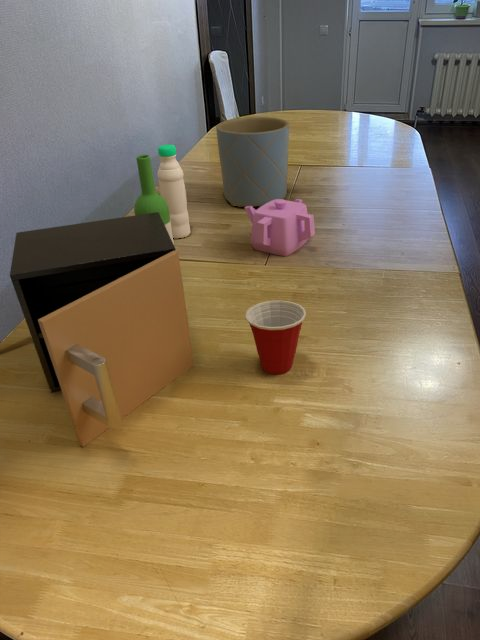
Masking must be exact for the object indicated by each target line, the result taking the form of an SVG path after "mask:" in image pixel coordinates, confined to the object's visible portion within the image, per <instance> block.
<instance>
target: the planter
mask: <svg viewBox="0 0 480 640" xmlns="http://www.w3.org/2000/svg"><path fill="white" fill-rule="evenodd" d="M215 129H216V130H215V131H216V137H217V148H218V156H219V163H220V164H219V165H220V171H221V177H222V179H221V180H222V187H223V194H224V195H223V196H224V198H225V200H226V201H228V202H229V204H230V205H231V206H232V205H234V206H238V207H237V208H240V207H243V208H244V207H247V206H252V207H261V206H263V205H265V204H266V203H268V202H270V201H272V200H275V199H283V200H285V198H286V196H287V194H288V171H289V167H288V166H289V153H290V151H289V147H290V123H289V121H288V120H285V119H283V118H280V117H279V118H278V117H271V116H247V117H246V116H245V117H244V116H243V117H235V118H231V119H227V120H223V121H221V122H219V123H218V124H217V125H216V128H215Z"/></svg>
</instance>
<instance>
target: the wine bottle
mask: <svg viewBox="0 0 480 640" xmlns="http://www.w3.org/2000/svg"><path fill="white" fill-rule="evenodd" d="M135 160H136V165H137V172H138V176H139V184H140V190H141V193H140V195H138V197H137V199H136V201H135V204H134V216H135V215H142V214H149V213H156V212H159V214H160V216H161V219H162V221H163V223H164V225H165V227H166V229H167V231H168V234H169V236H170V238H171V240H172V242H173V244H174V245H175V242H174V239H173V235H172V228H171V221H170V215H169V208H168V205H167V203H166V201H165V199H164V198H163V197H162V196H161V195H160V193H158V192H157V190H156V185H155V179H154V172H153V167H152V160H151V156H150V155H149V154H140V155H137V156H136V159H135Z"/></svg>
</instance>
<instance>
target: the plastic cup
mask: <svg viewBox="0 0 480 640" xmlns="http://www.w3.org/2000/svg"><path fill="white" fill-rule="evenodd" d="M306 316H307V312H306V309H305V308H304V307H303V306H302V305H301V304H300V303H296V302H293V301H288V300H282V299H278V300H277V299H276V300H266V301H264V302H258V303H257V304H254V305H252V306H250V307H249V308H248V309H247V310H246V311H245V320H246V321H247V322H248V324H249V327H250V329H251V330H250V331H251V332H252V335H253V340H254V343H255V348H256V352H257V354H258V357H259V358H258V359H259V362H260V366H261V368H262V370H264V372H266V373H268V374H270V375H274V376H277V375H284V374H286V373H288V372H289V371H291V369H292V367H293V365H294V360H295V356H296V353H297V348H298V343H299V338H300V332H301V330H302V325H303V322H304V320H305V319H306Z"/></svg>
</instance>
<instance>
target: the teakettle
mask: <svg viewBox="0 0 480 640" xmlns="http://www.w3.org/2000/svg"><path fill="white" fill-rule="evenodd" d="M244 210H245V212H246V214H247V216H248V219H249V220H250V223H251V232H250V233H251V235H250V236H251V237H250V241H251V245H252V248H253V250H254V251H258V252H263V253H267V254H271V255H275V256H280V257H288V256H290V255H293V253H295V252H296V251H299V250H300V248H302V247H303V246H305V244H306V243H307V242H308V240H309V239H311V238H312V237H314V236H315V235H316V231H315V217H314V215H313V214H312V213H311V214H310V213H308V209H307V205H306V203H303V199H302V198H301V199H300V198H296V199H294V201H292V200H286V199H275V200H272V201H270V202H268V203H266V204H265V205H263V206H259V207H258V208H257V209H255V208H254V206H244Z"/></svg>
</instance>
